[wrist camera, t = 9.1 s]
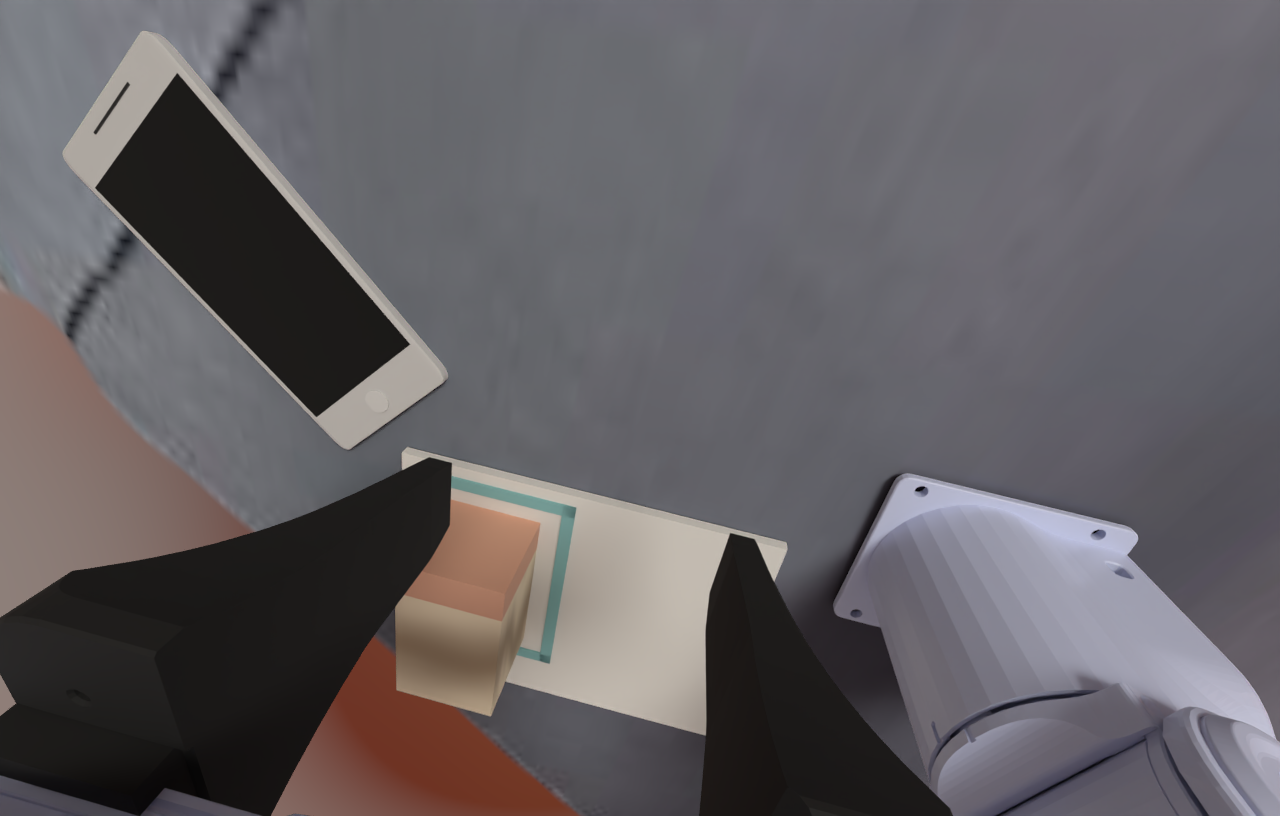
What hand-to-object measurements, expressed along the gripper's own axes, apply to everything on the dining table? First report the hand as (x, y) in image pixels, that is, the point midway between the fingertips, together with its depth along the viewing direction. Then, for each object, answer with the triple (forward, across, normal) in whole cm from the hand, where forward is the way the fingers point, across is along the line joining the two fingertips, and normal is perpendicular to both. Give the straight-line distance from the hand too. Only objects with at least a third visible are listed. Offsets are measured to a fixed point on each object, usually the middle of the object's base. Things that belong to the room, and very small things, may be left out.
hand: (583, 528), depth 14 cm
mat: (+9, +1, +13) cm, 16 cm away
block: (+9, +6, +12) cm, 16 cm away
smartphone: (+10, +16, -1) cm, 19 cm away
